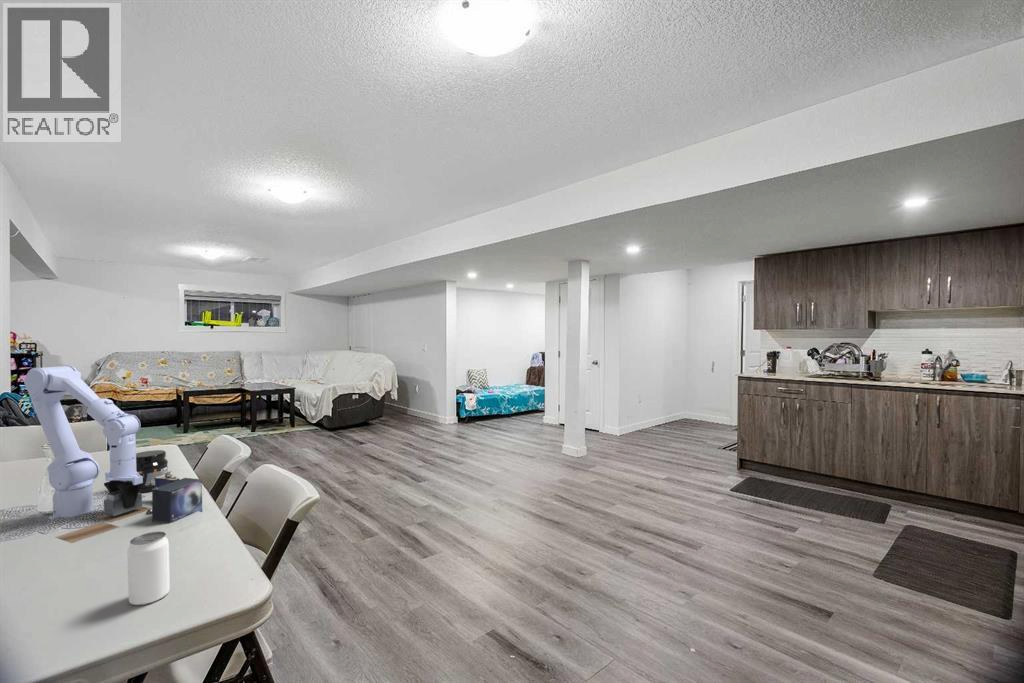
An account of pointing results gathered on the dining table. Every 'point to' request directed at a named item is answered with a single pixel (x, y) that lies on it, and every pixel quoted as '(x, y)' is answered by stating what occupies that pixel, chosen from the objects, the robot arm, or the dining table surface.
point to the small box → (176, 500)
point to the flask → (165, 479)
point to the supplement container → (150, 467)
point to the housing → (119, 503)
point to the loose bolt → (149, 512)
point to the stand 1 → (87, 532)
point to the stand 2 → (123, 514)
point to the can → (148, 568)
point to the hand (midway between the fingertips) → (124, 506)
